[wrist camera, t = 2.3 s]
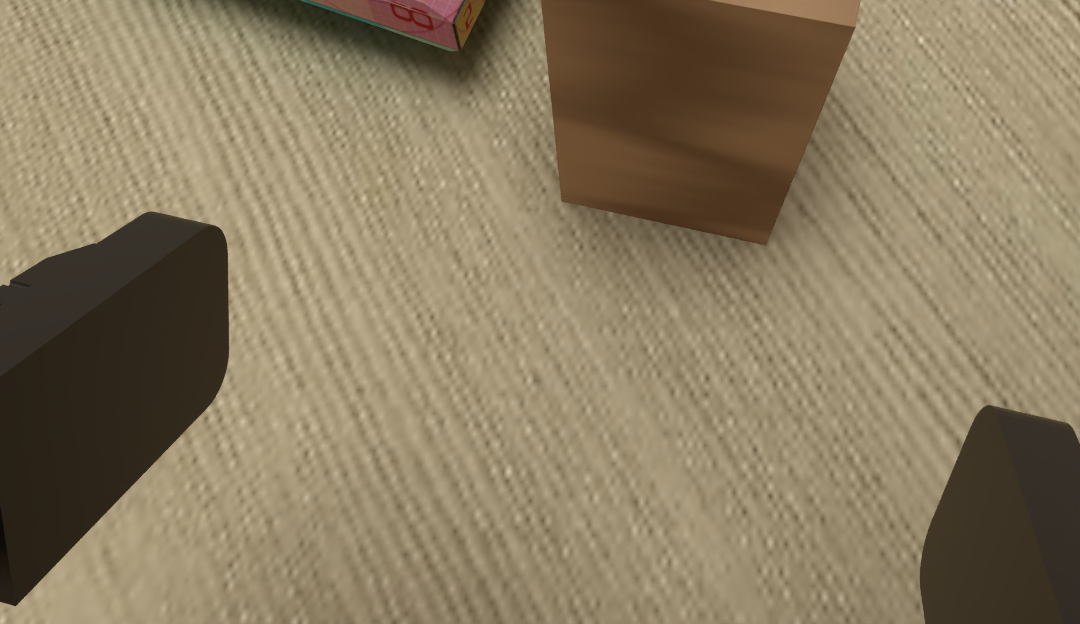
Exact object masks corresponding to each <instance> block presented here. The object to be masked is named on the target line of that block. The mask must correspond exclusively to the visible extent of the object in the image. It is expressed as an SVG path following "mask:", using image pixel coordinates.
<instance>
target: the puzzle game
mask: <svg viewBox="0 0 1080 624" xmlns="http://www.w3.org/2000/svg"><path fill="white" fill-rule="evenodd" d="M301 1H304V2H306V3H309V4H312V5H315V6H318V7H321V8H324V9H327V10H330V11H333V12H336V13H339V14H342V15H345V16H348V17H351V18H354V19H357V20H359V21H362V22H365V23H368V24H371V25H374V26H377V27H380V28H383V29H386V30H389V31H392V32H395V33H398V34H401V35H404V36H407V37H410V38H413V39H415V40H418V41H421V42H424V43H427V44H430V45H433V46H436V47H439V48H442V49H445V50H448V51H461V50H462V48H463V46H464V44H465V42H466V40H467V38H468V36H469V33H470V31H471V29H472V27H473V25H474V23H475V21H476V19H477V17H478V15H479V13H480V11H481V9H482V7H483V5H484V3H485V1H486V0H301Z"/></svg>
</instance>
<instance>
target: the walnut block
mask: <svg viewBox="0 0 1080 624" xmlns="http://www.w3.org/2000/svg"><path fill="white" fill-rule="evenodd" d="M860 1H861V0H541V4H542V14H543V24H544V34H545V43H546V53H547V63H548V73H549V82H550V92H551V102H552V112H553V121H554V131H555V141H556V151H557V160H558V170H559V180H560V190H561V199H562V201H564V202H568V203H573V204H578V205H582V206H587V207H592V208H596V209H601V210H605V211H610V212H615V213H619V214H624V215H629V216H633V217H638V218H642V219H647V220H652V221H656V222H661V223H666V224H670V225H675V226H679V227H684V228H689V229H693V230H698V231H703V232H707V233H712V234H716V235H721V236H726V237H730V238H735V239H740V240H744V241H749V242H753V243H758V244H763V245H766V243H767V241H768V238H769V236H770V234H771V231H772V229H773V226H774V224H775V221H776V219H777V216H778V214H779V212H780V209H781V207H782V204H783V202H784V199H785V197H786V195H787V192H788V190H789V187H790V185H791V182H792V180H793V178H794V175H795V173H796V170H797V168H798V165H799V163H800V161H801V158H802V156H803V153H804V151H805V148H806V146H807V144H808V141H809V139H810V136H811V134H812V131H813V129H814V127H815V124H816V122H817V119H818V117H819V114H820V112H821V110H822V107H823V105H824V102H825V100H826V97H827V95H828V92H829V90H830V88H831V85H832V83H833V80H834V78H835V75H836V73H837V71H838V68H839V66H840V63H841V61H842V58H843V56H844V54H845V51H846V49H847V46H848V44H849V41H850V39H851V37H852V34H853V32H854V29H855V26H856V21H857V16H858V11H859V6H860Z"/></svg>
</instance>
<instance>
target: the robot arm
mask: <svg viewBox="0 0 1080 624" xmlns="http://www.w3.org/2000/svg"><path fill="white" fill-rule="evenodd" d="M228 357H229V311H228V250H227V242H226V239H225V236H224V234H223V232H222V230H221V229H220V228H219V227H217V226H214V225H210V224H205V223H201V222H197V221H192V220H188V219H184V218H179V217H175V216H170V215H166V214H162V213H157V212H147V213H144V214H142V215H141V216H139V217H138V218H136V219H134V220H133V221H131V222H130V223H128V224H127V225H125V226H124V227H122V228H120V229H119V230H117V231H116V232H114V233H113V234H111V235H109V236H108V237H106V238H105V239H103V240H102V241H100V242H98V243H97V244H95V243H94V244H91V245H87V246H84V247H81V248H78V249H74V250H71V251H68V252H65V253H62V254H58V255H55V256H52V257H49V258H46V259H44V260H43V261H41V262H39V263H38V264H36V265H34V266H33V267H31V268H30V269H28V270H26V271H25V272H23V273H21V274H20V275H18V276H17V277H15V278H13V279H12V280H10V285H9V286H6V285H2V286H0V602H3V603H7V604H10V605H13V606H16V605H17V604H18V603H19V602H20V601H21V600H22V599H23V598H24V597H25V596H26V595H27V594H28V593H29V592H30V591H31V590H32V589H33V588H34V587H35V586H36V585H37V584H38V583H39V582H40V581H41V579H42V578H43V577H44V576H45V575H46V574H47V573H48V572H49V571H50V570H51V569H52V568H53V567H54V566H55V565H56V564H57V563H58V562H59V561H60V560H61V559H62V558H63V557H64V556H65V555H66V554H67V553H68V552H69V550H70V549H71V548H72V547H73V546H74V545H75V544H76V543H77V542H78V541H79V540H80V539H81V538H82V537H83V536H84V535H85V534H86V533H87V532H88V531H89V530H90V529H91V528H92V527H93V526H94V525H95V524H96V523H97V522H98V520H99V519H100V518H101V517H102V516H103V515H104V514H105V513H106V512H107V511H108V510H109V509H110V508H111V507H112V506H113V505H114V504H115V503H116V502H117V501H118V500H119V499H120V498H121V497H122V496H123V495H124V494H125V493H126V491H127V490H128V489H129V488H130V487H131V486H132V485H133V484H134V483H135V482H136V481H137V480H138V479H139V478H140V477H141V476H142V475H143V474H144V473H145V472H146V471H147V470H148V469H149V468H150V467H151V466H152V465H153V464H154V462H155V461H156V460H157V459H158V458H159V457H160V456H161V455H162V454H163V453H164V452H165V451H166V450H167V449H168V448H169V447H170V446H171V445H172V444H173V443H174V442H175V441H176V440H177V439H178V438H179V437H180V436H181V435H182V433H183V432H184V431H185V430H186V429H187V428H188V427H189V426H190V425H191V424H192V423H193V422H194V421H195V420H196V419H197V418H198V417H199V416H200V415H201V414H202V413H203V412H204V411H205V410H206V409H207V408H208V406H209V405H210V404H211V403H212V401H213V400H214V398H215V397H216V395H217V393H218V391H219V389H220V387H221V385H222V382H223V379H224V376H225V373H226V369H227V364H228ZM920 590H921V597H922V604H923V610H924V617H925V623H926V624H1080V444H1079V441H1078V439H1077V437H1076V434H1075V432H1074V430H1073V428H1072V427H1071V426H1070V425H1069V424H1068V423H1065V422H1061V421H1057V420H1052V419H1048V418H1043V417H1039V416H1035V415H1030V414H1026V413H1022V412H1017V411H1013V410H1009V409H1004V408H1000V407H996V406H991V405H987V406H985V407H983V408H982V409H981V410H980V411H979V413H978V414H977V416H976V417H975V419H974V421H973V423H972V425H971V427H970V430H969V432H968V435H967V437H966V439H965V442H964V444H963V447H962V449H961V451H960V454H959V456H958V459H957V461H956V464H955V466H954V468H953V471H952V473H951V476H950V478H949V480H948V483H947V485H946V488H945V490H944V492H943V495H942V497H941V500H940V502H939V505H938V507H937V509H936V512H935V514H934V517H933V519H932V521H931V524H930V527H929V529H928V532H927V536H926V539H925V543H924V548H923V553H922V559H921V568H920Z"/></svg>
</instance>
